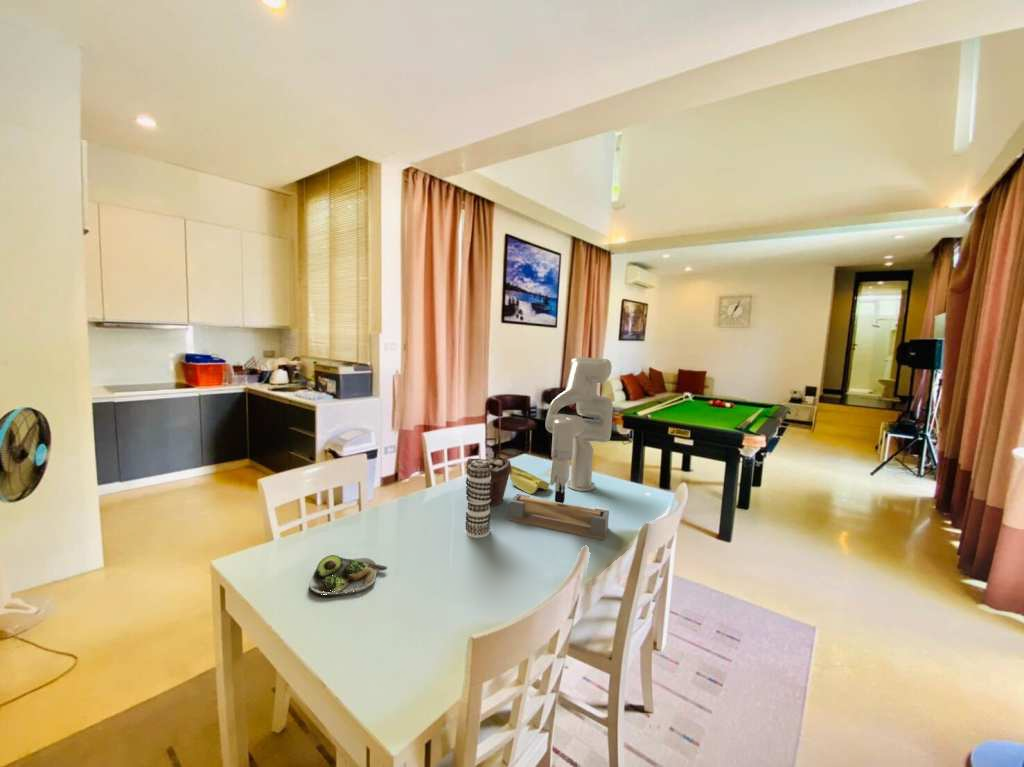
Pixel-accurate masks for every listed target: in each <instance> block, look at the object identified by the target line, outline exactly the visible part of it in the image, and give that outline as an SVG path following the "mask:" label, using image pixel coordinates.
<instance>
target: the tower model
mask: <svg viewBox="0 0 1024 767" xmlns="http://www.w3.org/2000/svg"><path fill="white" fill-rule="evenodd" d="M468 467H469V474H468V476H467V477H466V480H465V485H466V486H465V488H466V489H465V494H466V502H467V507H466V512H465V534H466V535H467V536H468V537H471V538H477V539H482V538H485V537H487V536H489V535H490V532H491V531H490V529H491V521H490V520H491V506H489V504H490V501H491V498H492V497H491V494H492V492H491V491H490V490H491V489H492V488H493V487H492V486H491V485H492V484H493V482H492V481H491V468H492V466H491V465H490V464H489V463H488V462H487V461H485V460H475V461H473V462H472V463H471V464H470V465H468Z"/></svg>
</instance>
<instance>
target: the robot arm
mask: <svg viewBox="0 0 1024 767" xmlns="http://www.w3.org/2000/svg"><path fill="white" fill-rule="evenodd" d="M612 369H613V367H612V362H611V361H610V359H608V358H599V357H598V358H597V357H586V356H585V357H581V356H580V357H578V356H577V357H574V358H572V359H571V362H570V370H569V375H568V378H567V381H566V386H565V389H564V390H563V392H561V393H559V394H558V395H557V396H556V397H555V398H554V399H552V401H551V402H550V404H549V407H548V410H547V413H546V418H545V424H544V425H545V429H546V431H547V432H549V433H551V434H552V442H551V458H552V462H551V470H550V472H551V473H550V481H549V483H550V485H549V486H554V487H555V489H554V502H557V503H562V504H564V502H565V499H566V498H565V497H566V496H565V495H566V491H565V490H566V486H567V488H569V489H571V490H573V491H577V492H590V491H592V490H595V484H594V483H593V482H592V480H593V479H592V478H593V464H594V448H593V444H592V443H591V442H597V443H608V442H609V441H610V440H611V436H612V425H613V410H614V409H613V408H614V407H613V401H612V399H611V398H609V397H607V396H601V395H600V396H599V395H597V388H598V387H597V386H598V385H597V383H598V384H599V383H600V384H603V383H605V382H606V381H607V380H608V379H609V378H610V376H611V374H612ZM572 404H576V405H575V406H576V413H577V414H578V415H574V414H568V413H567V414H565V413H558V412H559V411H560V410H561V409H562V408H564V407H566V406H570V405H572ZM581 416H582V417H581ZM583 417H589V418H583ZM590 418H597V419H600V420H597V419H590ZM570 464H571V468H570ZM569 477H570V479H569ZM554 484H555V485H554Z"/></svg>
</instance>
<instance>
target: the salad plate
mask: <svg viewBox="0 0 1024 767" xmlns="http://www.w3.org/2000/svg"><path fill="white" fill-rule="evenodd" d="M387 569H388V566H386V565H381V564H377V563H376V562H375V560H373V559H371V558H369V557H358V558H344V557H342V556H339V555H335V554H331V555H327V556H325V557H324V558H322V559H321V560H320V561H319V563H318V564H317V566H316V569H315V571H314V573H313V575H312V577H311V580H310V583H309V585H308V586H309V587H308V590H309V592H311V594H312V595H314V596H317V597H322V598H330V597H331V598H333V597H338V596H339V597H340V596H345V595H346V596H347V595H350V594H354V593H359V592H362V591H364V590H367V589H368V588H370V587H371V586H373V585H374V584H375V582H376V578H377V574H378V573H379V572H383V571H386V570H387ZM332 575H333V576H332ZM360 581H361V582H362V585H360V586H359V587H356V588H354V589H351V590H348V591H345V592H347V593H343V592H344V591H343V590H344V589H345V588H346V587H347V586H349V585H350V584H351V583H352V584H353V583H355V582H356V583H357V582H360ZM339 589H340V590H339ZM330 590H331V591H330ZM323 591H324V592H323ZM332 591H333V592H332ZM334 591H335V592H334ZM353 591H354V592H353ZM328 592H329V593H328ZM339 592H340V593H339ZM336 593H337V594H336ZM321 594H322V595H321ZM323 594H327V595H323Z"/></svg>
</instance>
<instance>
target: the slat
mask: <svg viewBox="0 0 1024 767" xmlns="http://www.w3.org/2000/svg"><path fill="white" fill-rule="evenodd" d="M519 501H522V502H525V503H524V513H529V514H534V515H539V516H544V517H549V518H554V519H559V520H563V521H568V522H573V523H578V524H583V525H588V526H591V516H592V515H595V516H601V511H600V510H595V508H588V507H583V506H578V505H572V504H567V503H559V502H555V501H552V500H545V499H539V498H534V497H531V496H530V497H525V496H521V497H520V498H519Z"/></svg>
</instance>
